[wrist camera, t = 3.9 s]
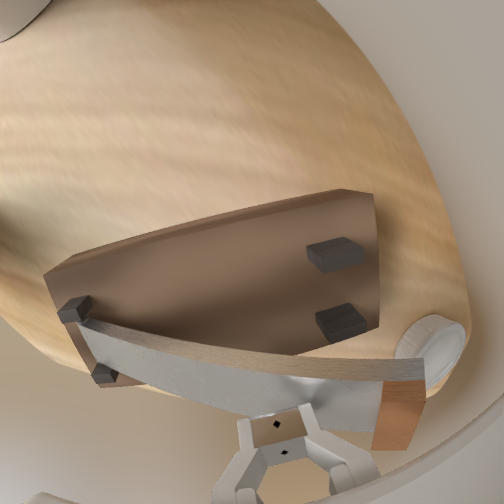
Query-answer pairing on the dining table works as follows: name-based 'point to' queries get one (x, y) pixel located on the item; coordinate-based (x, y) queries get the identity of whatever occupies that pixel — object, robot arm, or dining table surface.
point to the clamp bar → (272, 381)
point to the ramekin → (433, 345)
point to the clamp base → (233, 279)
